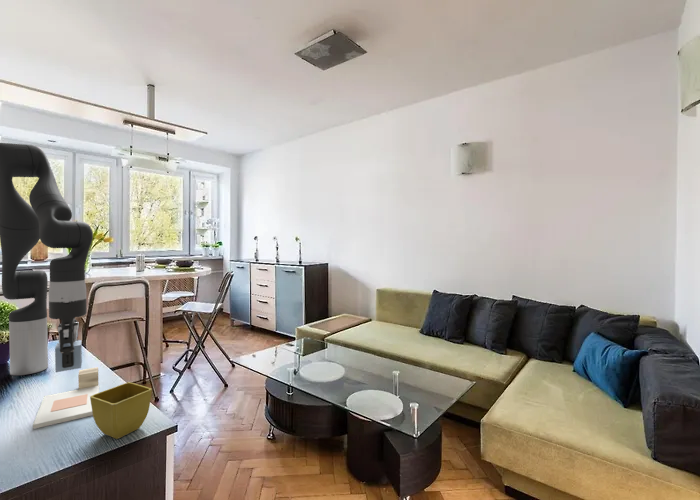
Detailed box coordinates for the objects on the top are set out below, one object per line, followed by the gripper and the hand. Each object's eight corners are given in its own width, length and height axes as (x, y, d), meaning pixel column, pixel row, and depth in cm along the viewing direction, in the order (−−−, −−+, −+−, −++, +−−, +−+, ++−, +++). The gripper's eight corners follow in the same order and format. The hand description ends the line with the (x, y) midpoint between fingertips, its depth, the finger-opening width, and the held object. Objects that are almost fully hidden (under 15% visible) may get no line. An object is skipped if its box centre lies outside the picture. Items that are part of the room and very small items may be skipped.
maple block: (79, 387, 101) (79, 370, 101) (98, 383, 104) (98, 367, 104) (78, 392, 97) (78, 374, 97) (98, 388, 100) (98, 371, 100)
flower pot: (153, 426, 79) (153, 388, 79) (114, 447, 71) (113, 404, 71) (129, 418, 83) (128, 381, 83) (89, 436, 75) (88, 396, 75)
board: (44, 399, 93) (44, 395, 93) (99, 388, 100) (99, 385, 100) (33, 429, 78) (33, 424, 78) (98, 413, 85) (98, 409, 85)
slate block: (57, 366, 89) (57, 343, 89) (81, 362, 92) (81, 340, 92) (55, 372, 85) (55, 348, 85) (81, 368, 88) (80, 345, 88)
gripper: (52, 296, 92) (53, 359, 92) (44, 303, 80) (45, 375, 80) (87, 293, 96) (88, 353, 97) (85, 300, 85) (86, 368, 85)
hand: (69, 363), depth 89 cm, fingers closed on slate block, 5 cm apart
